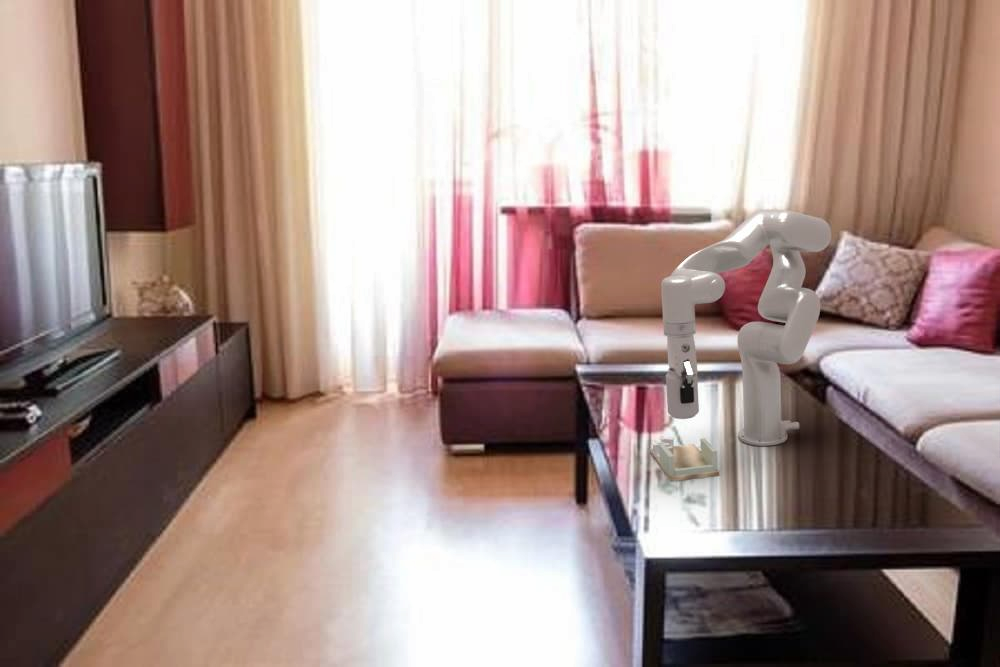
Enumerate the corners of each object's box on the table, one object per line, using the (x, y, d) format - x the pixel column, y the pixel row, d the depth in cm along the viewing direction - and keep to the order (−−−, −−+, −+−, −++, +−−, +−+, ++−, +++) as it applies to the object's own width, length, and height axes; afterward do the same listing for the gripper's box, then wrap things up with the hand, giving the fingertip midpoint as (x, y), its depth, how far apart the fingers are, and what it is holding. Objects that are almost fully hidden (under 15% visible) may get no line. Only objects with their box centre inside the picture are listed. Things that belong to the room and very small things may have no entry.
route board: (694, 447, 234) (694, 444, 233) (719, 475, 215) (719, 471, 214) (649, 453, 233) (649, 449, 232) (671, 481, 214) (671, 477, 213)
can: (698, 420, 213) (696, 372, 210) (667, 420, 215) (664, 373, 212) (699, 409, 220) (697, 363, 217) (668, 410, 222) (666, 364, 219)
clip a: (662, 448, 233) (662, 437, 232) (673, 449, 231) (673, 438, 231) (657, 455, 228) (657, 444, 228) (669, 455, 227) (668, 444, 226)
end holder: (705, 457, 224) (705, 438, 223) (718, 471, 215) (718, 451, 214) (659, 462, 223) (658, 444, 222) (670, 477, 214) (669, 457, 213)
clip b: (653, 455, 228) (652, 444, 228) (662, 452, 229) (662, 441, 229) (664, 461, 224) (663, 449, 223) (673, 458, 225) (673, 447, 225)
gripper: (705, 334, 204) (708, 407, 208) (684, 318, 221) (687, 386, 225) (673, 337, 203) (677, 410, 208) (655, 321, 220) (658, 389, 224)
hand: (682, 397), depth 216 cm, fingers closed on can, 7 cm apart
